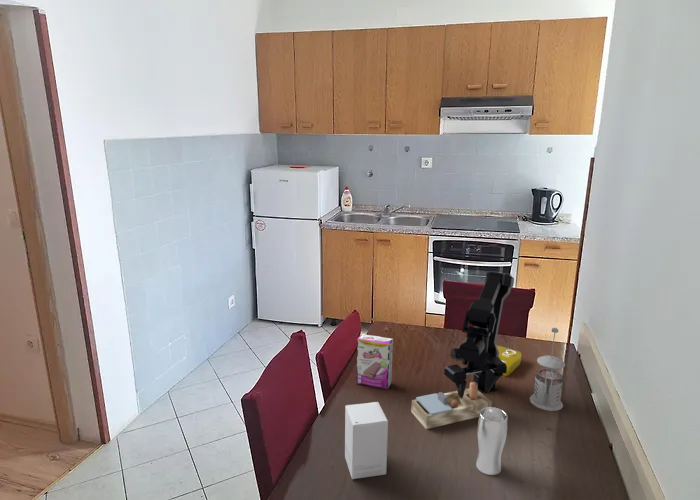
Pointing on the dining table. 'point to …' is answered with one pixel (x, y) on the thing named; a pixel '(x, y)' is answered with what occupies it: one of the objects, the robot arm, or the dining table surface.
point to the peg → (473, 391)
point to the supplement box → (366, 440)
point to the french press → (548, 383)
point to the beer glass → (491, 439)
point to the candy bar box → (374, 361)
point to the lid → (434, 403)
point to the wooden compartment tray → (460, 409)
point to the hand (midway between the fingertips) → (473, 394)
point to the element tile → (509, 359)
